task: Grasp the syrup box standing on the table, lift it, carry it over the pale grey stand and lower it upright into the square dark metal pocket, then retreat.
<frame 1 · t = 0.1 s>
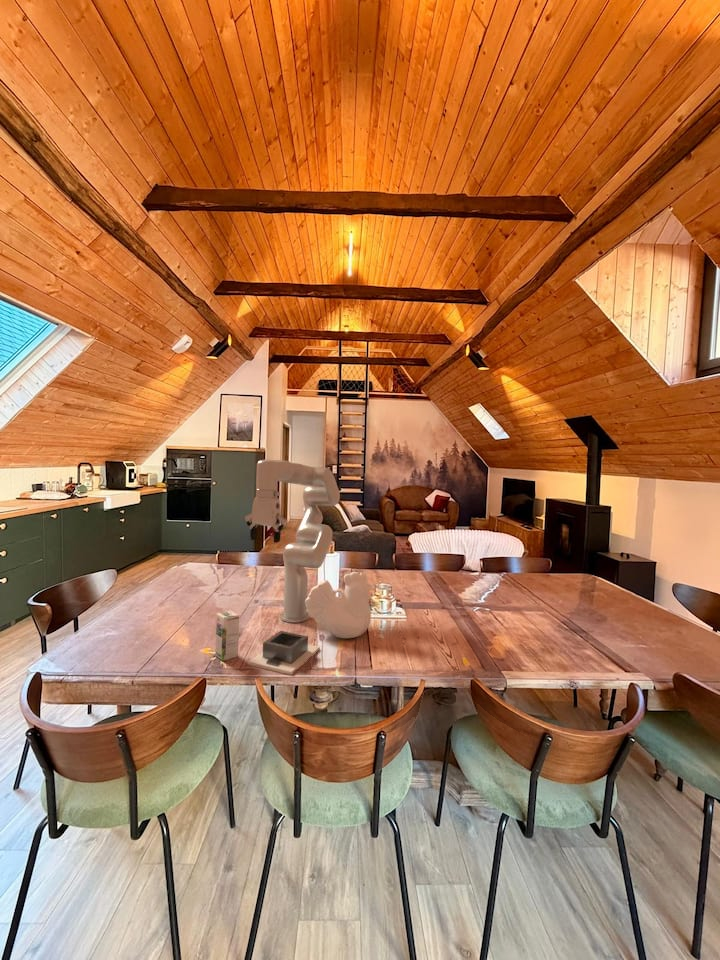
hand: (265, 540, 161), 37 cm above the table, tool pointing down, fingers open, 9 cm apart
syrup box: (226, 656, 148), on the table
decorative rooster: (338, 633, 171), on the table
pocket stand: (285, 656, 149), on the table
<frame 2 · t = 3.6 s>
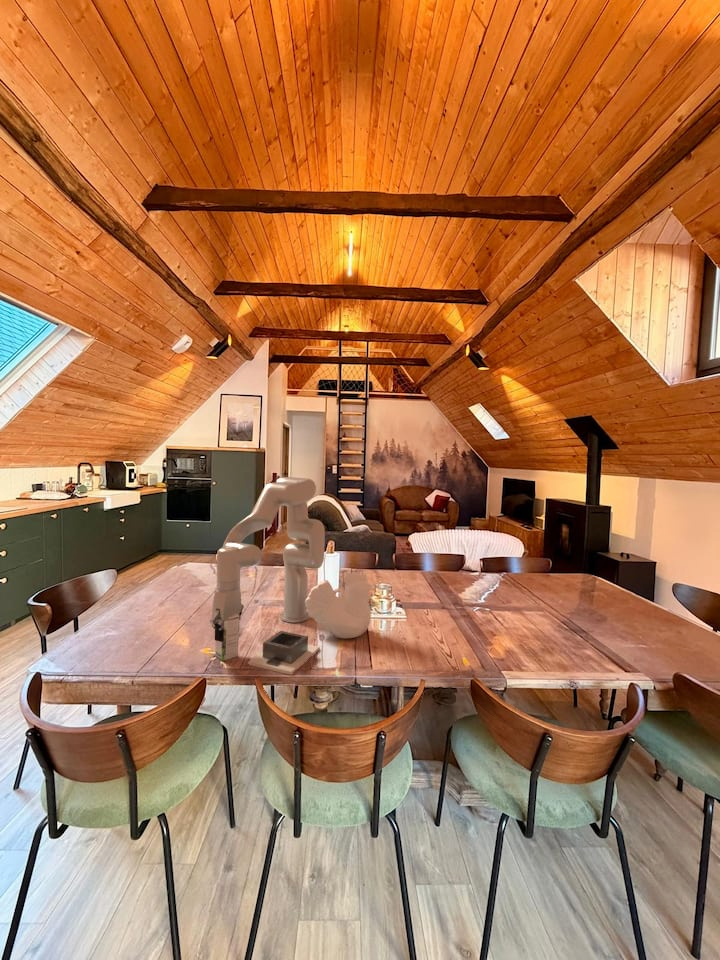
hand: (227, 635, 148), 7 cm above the table, tool pointing down, fingers closed on syrup box, 7 cm apart
syrup box: (226, 656, 148), on the table, touching gripper
everything else where it was.
when the fingers open (9 cm above the table, at t = 11.7 s): syrup box drops 1 cm, resting on pocket stand.
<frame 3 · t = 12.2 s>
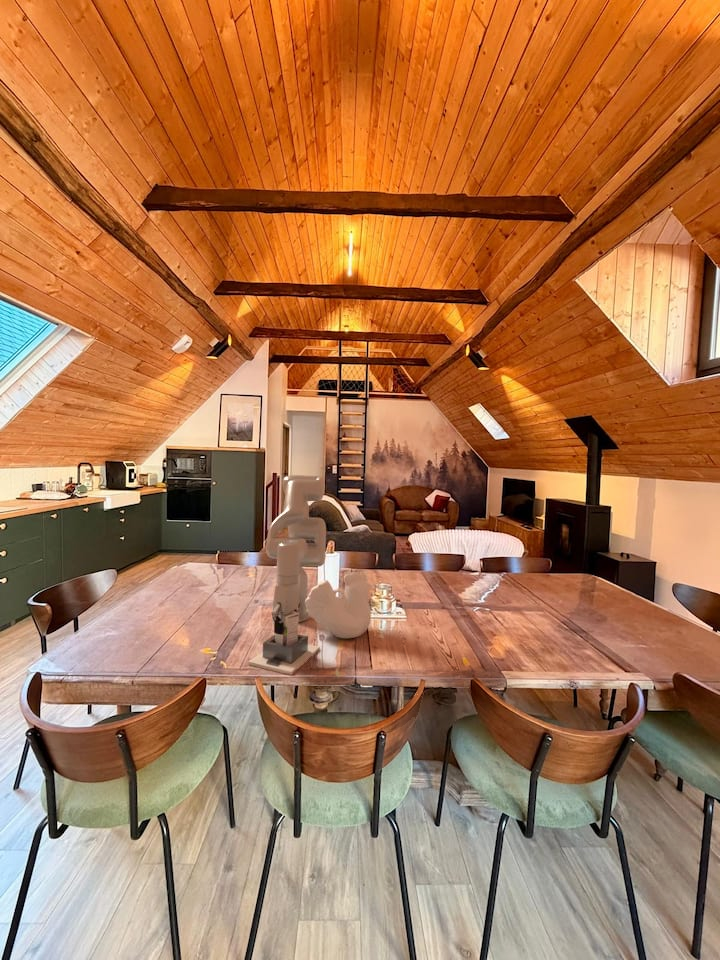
hand: (286, 628, 149), 10 cm above the table, tool pointing down, fingers open, 9 cm apart
syrup box: (285, 654, 150), point 1 cm above the table, touching pocket stand
everything else where it was.
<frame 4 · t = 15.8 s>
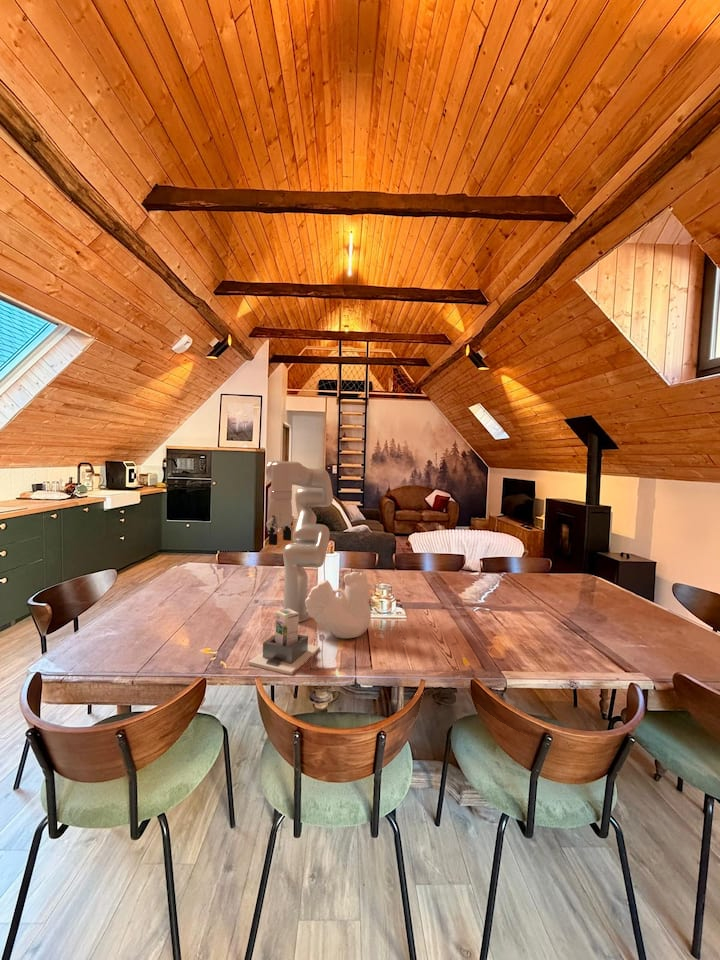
hand: (280, 542, 161), 36 cm above the table, tool pointing down, fingers open, 9 cm apart
nothing on the table moved.
at the end: syrup box 0.4 cm off-centre on the pocket stand, point 0.8 cm above the pocket stand's base; syrup box tilted 0°; the gripper is holding nothing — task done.
